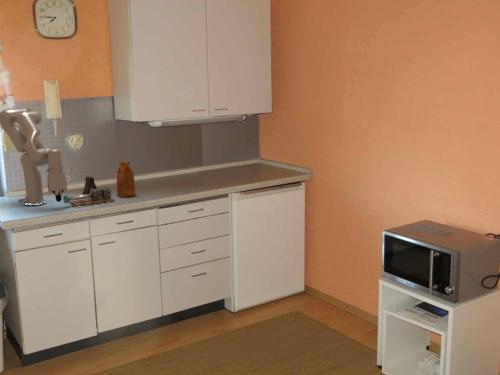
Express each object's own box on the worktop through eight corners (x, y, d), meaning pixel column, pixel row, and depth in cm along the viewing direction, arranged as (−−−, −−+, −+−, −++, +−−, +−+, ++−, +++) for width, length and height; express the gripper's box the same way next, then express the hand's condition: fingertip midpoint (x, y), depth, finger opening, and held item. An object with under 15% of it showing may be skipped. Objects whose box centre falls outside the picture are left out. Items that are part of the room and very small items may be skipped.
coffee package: (130, 192, 382) (128, 158, 377) (137, 196, 371) (134, 161, 367) (115, 194, 377) (112, 160, 372) (121, 198, 367) (119, 163, 362)
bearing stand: (74, 208, 346) (73, 195, 344) (68, 204, 356) (67, 191, 354) (114, 201, 358) (113, 189, 356) (107, 198, 368) (106, 186, 366)
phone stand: (86, 197, 371) (84, 178, 369) (82, 196, 376) (80, 177, 373) (99, 195, 377) (98, 176, 375) (95, 193, 382) (93, 175, 379)
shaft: (65, 204, 346) (64, 196, 345) (63, 202, 350) (62, 195, 349) (99, 199, 357) (98, 191, 356) (96, 197, 360) (96, 190, 359)
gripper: (43, 172, 335) (47, 204, 339) (70, 169, 343) (73, 200, 347) (40, 171, 341) (44, 202, 345) (67, 167, 349) (70, 198, 353)
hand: (58, 201), depth 346 cm, fingers closed
